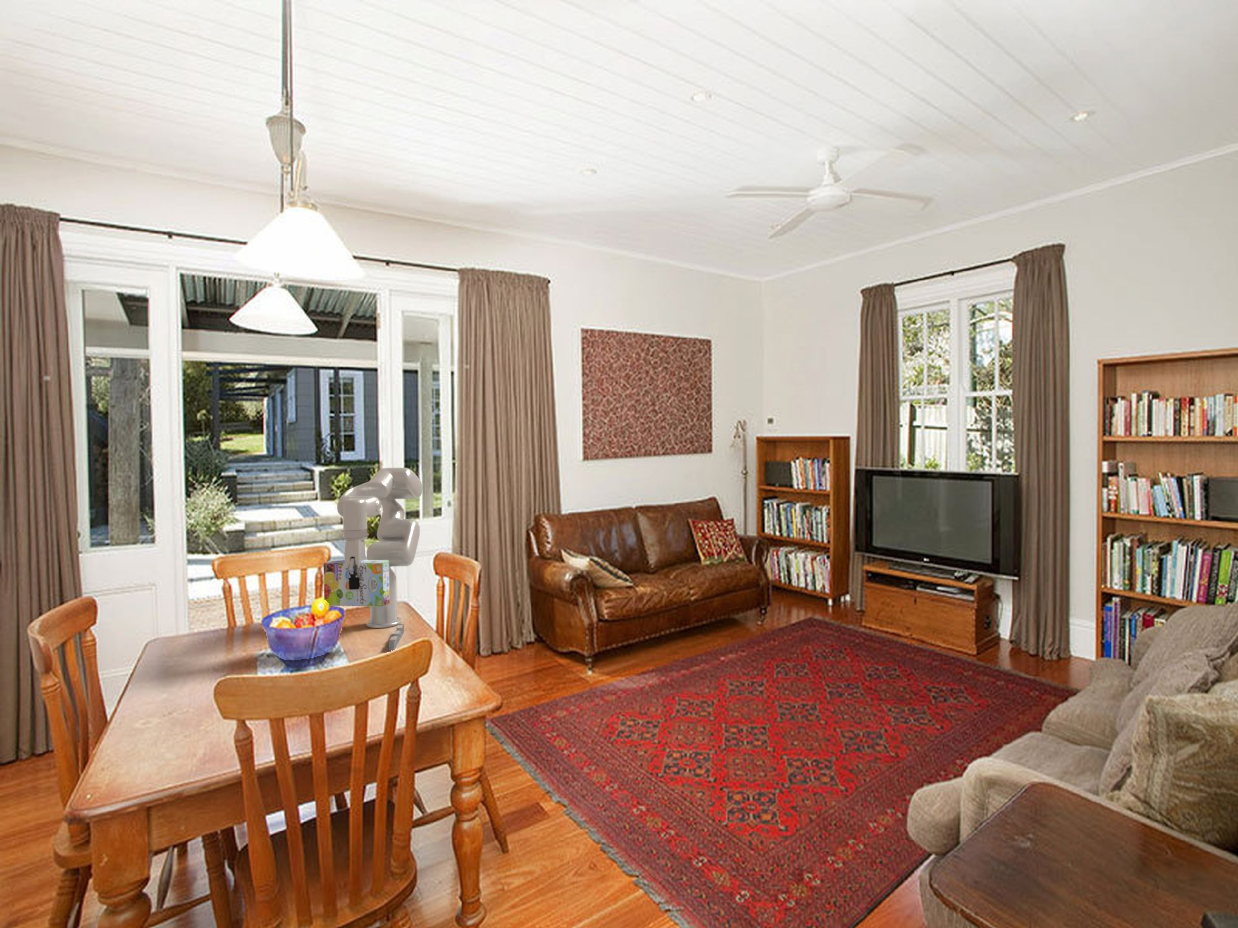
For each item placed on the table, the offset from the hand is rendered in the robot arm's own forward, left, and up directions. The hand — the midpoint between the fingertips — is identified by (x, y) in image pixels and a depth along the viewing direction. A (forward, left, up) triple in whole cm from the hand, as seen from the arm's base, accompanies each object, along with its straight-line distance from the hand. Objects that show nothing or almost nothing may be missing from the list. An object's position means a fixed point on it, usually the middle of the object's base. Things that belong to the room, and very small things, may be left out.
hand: (356, 586), depth 216 cm
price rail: (-2, +12, -20) cm, 24 cm away
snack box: (0, 0, -6) cm, 6 cm away
